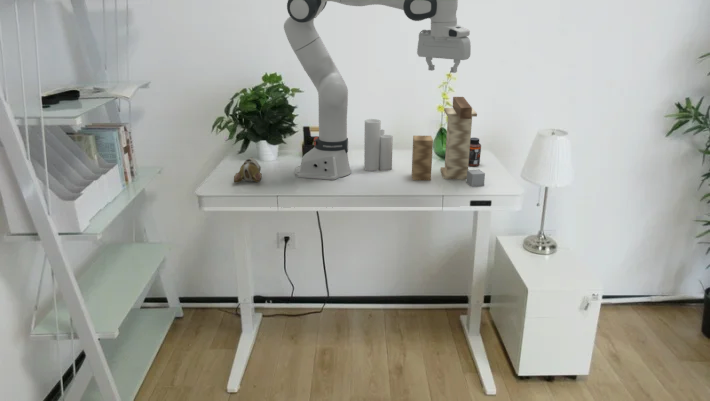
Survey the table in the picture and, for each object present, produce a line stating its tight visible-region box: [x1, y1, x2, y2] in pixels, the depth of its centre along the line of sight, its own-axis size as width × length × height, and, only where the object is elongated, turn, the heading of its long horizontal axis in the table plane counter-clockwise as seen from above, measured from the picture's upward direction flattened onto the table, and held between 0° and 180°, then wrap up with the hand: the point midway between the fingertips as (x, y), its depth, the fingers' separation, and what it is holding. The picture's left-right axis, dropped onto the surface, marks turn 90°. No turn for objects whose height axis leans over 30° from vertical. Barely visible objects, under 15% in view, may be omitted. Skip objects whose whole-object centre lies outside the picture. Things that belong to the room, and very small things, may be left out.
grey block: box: [465, 168, 486, 188], centre depth 209 cm, size 5×5×5 cm
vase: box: [363, 118, 394, 172], centre depth 224 cm, size 11×7×20 cm, turn 97°
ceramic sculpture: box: [233, 156, 263, 184], centre depth 213 cm, size 11×9×15 cm
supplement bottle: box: [468, 137, 482, 167], centre depth 230 cm, size 6×6×11 cm
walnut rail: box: [452, 96, 473, 119], centre depth 207 cm, size 4×20×4 cm, turn 178°
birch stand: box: [439, 107, 478, 180], centre depth 215 cm, size 11×10×26 cm
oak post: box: [411, 135, 434, 181], centre depth 214 cm, size 7×7×16 cm
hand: (442, 71), depth 194 cm, fingers open, 8 cm apart
